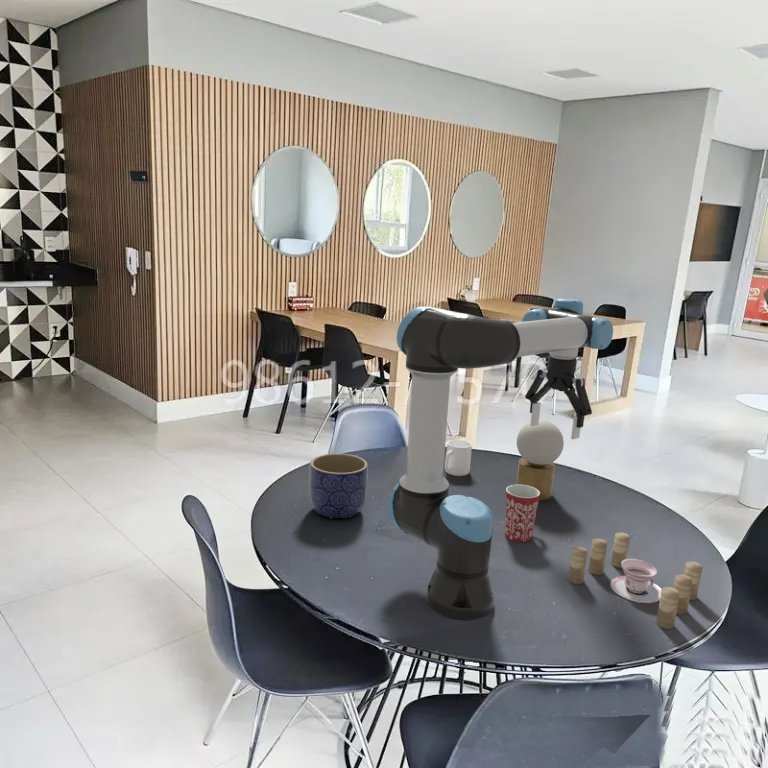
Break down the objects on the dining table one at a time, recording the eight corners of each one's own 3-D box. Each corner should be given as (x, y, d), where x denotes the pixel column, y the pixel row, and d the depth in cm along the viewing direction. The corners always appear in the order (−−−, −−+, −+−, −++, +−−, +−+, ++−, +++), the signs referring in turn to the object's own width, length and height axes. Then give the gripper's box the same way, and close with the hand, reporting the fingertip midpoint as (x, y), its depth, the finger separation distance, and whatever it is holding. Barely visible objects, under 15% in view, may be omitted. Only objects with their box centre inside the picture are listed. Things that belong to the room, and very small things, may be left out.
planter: (374, 520, 195) (376, 470, 192) (317, 527, 189) (319, 476, 186) (354, 497, 210) (356, 451, 207) (301, 503, 204) (303, 455, 201)
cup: (474, 471, 236) (476, 443, 234) (454, 481, 227) (457, 452, 224) (453, 465, 241) (455, 438, 239) (434, 474, 232) (436, 445, 229)
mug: (522, 547, 184) (527, 500, 180) (495, 535, 190) (499, 489, 187) (548, 533, 192) (553, 488, 189) (521, 522, 199) (526, 478, 195)
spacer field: (668, 631, 149) (674, 597, 147) (565, 579, 168) (568, 549, 166) (710, 601, 162) (715, 570, 160) (609, 556, 181) (613, 528, 179)
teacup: (599, 581, 168) (602, 558, 167) (639, 574, 173) (642, 552, 171) (632, 608, 158) (636, 583, 156) (674, 600, 162) (678, 576, 160)
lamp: (558, 508, 210) (568, 429, 204) (511, 503, 212) (519, 425, 206) (554, 489, 224) (563, 415, 218) (510, 484, 226) (518, 411, 220)
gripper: (611, 363, 179) (601, 441, 184) (534, 347, 197) (526, 418, 203) (595, 367, 174) (585, 446, 180) (517, 349, 193) (510, 422, 198)
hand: (554, 431), depth 191 cm, fingers open, 13 cm apart
